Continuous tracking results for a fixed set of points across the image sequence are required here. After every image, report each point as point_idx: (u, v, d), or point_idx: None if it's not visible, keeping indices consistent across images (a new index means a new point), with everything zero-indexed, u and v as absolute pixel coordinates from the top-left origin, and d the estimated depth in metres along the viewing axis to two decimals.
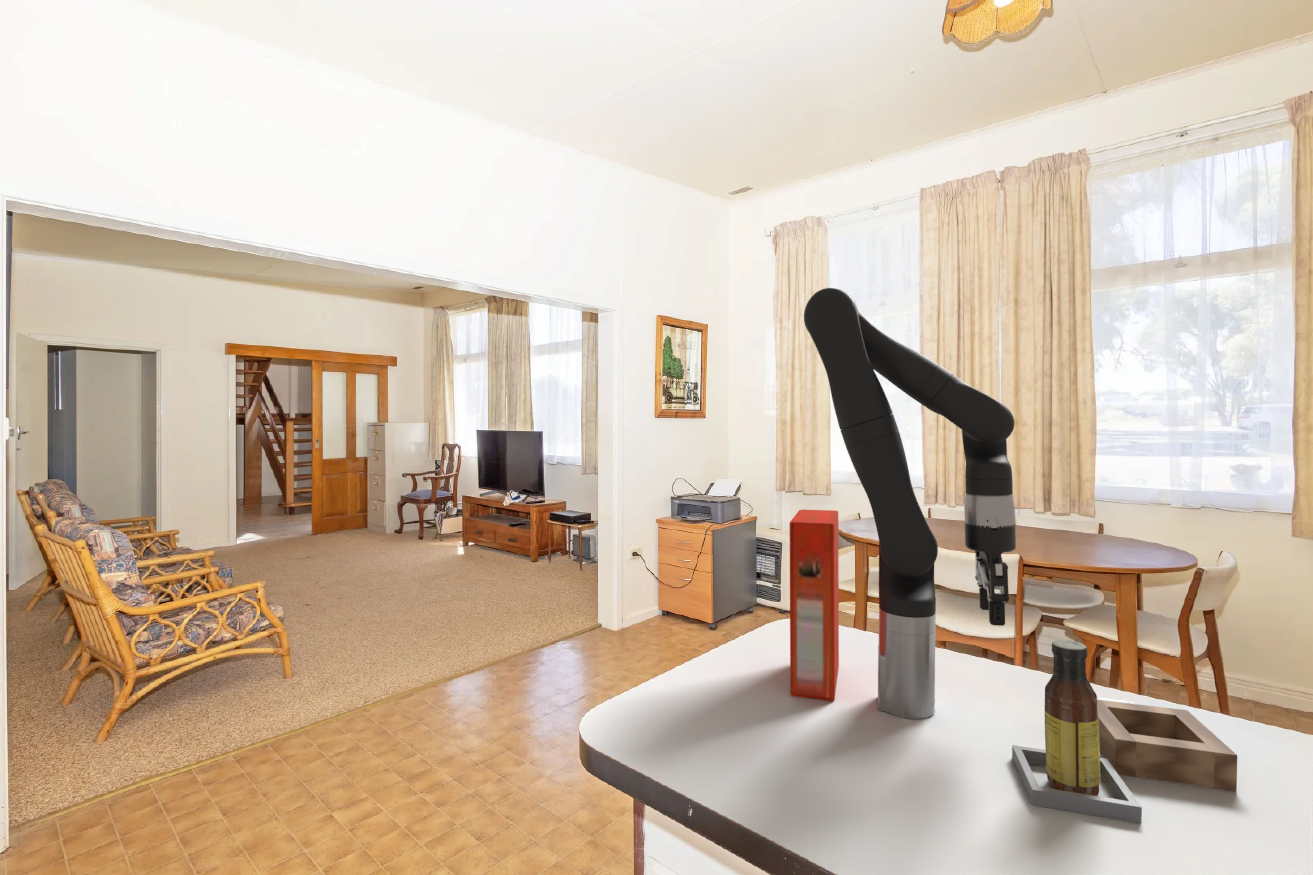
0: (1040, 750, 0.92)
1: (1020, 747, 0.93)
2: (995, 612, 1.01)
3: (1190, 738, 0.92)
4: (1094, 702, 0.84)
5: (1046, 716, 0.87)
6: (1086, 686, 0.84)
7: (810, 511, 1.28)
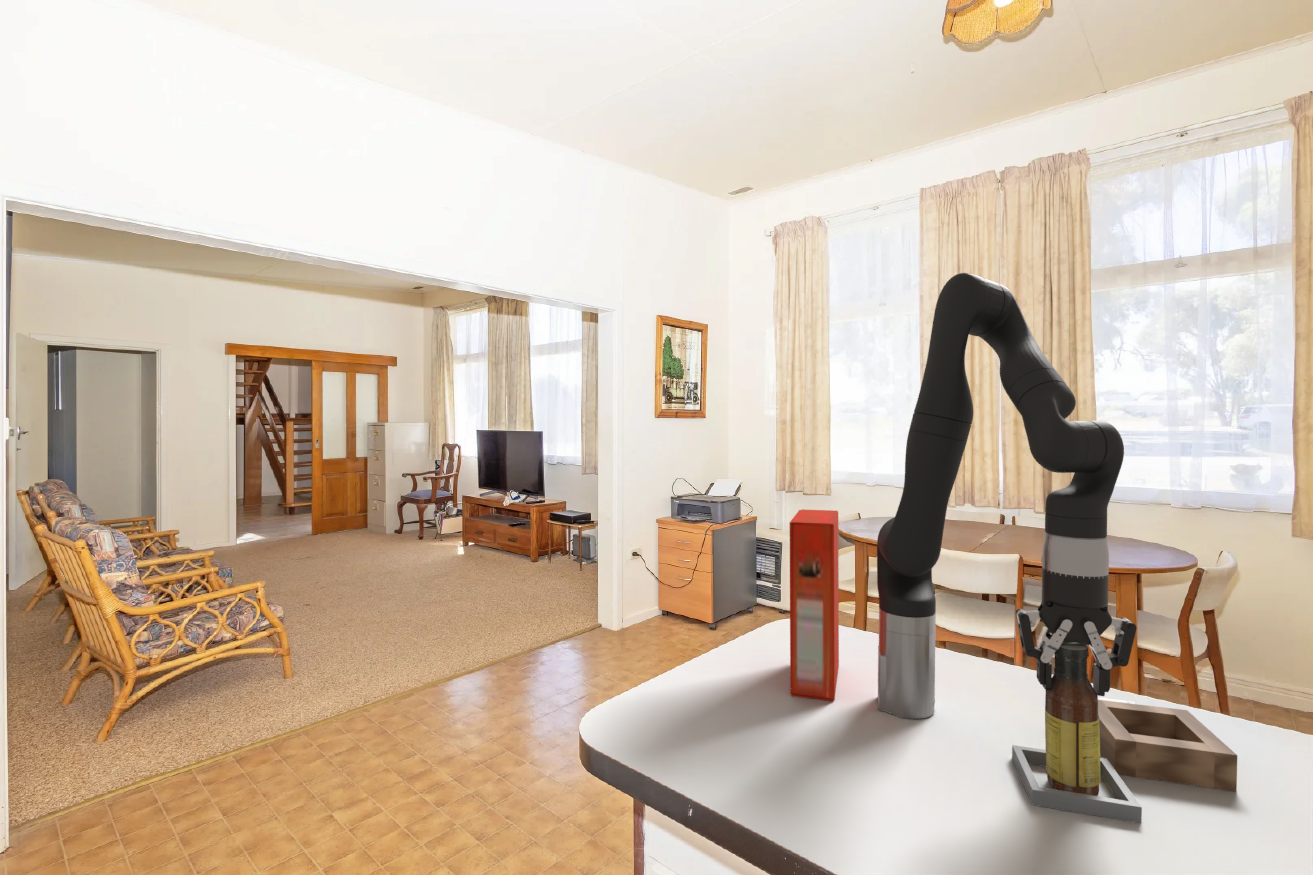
0: (1040, 750, 0.92)
1: (1020, 747, 0.93)
2: None
3: (1190, 738, 0.92)
4: (1095, 702, 0.84)
5: (1047, 716, 0.87)
6: (1087, 686, 0.84)
7: (810, 511, 1.28)
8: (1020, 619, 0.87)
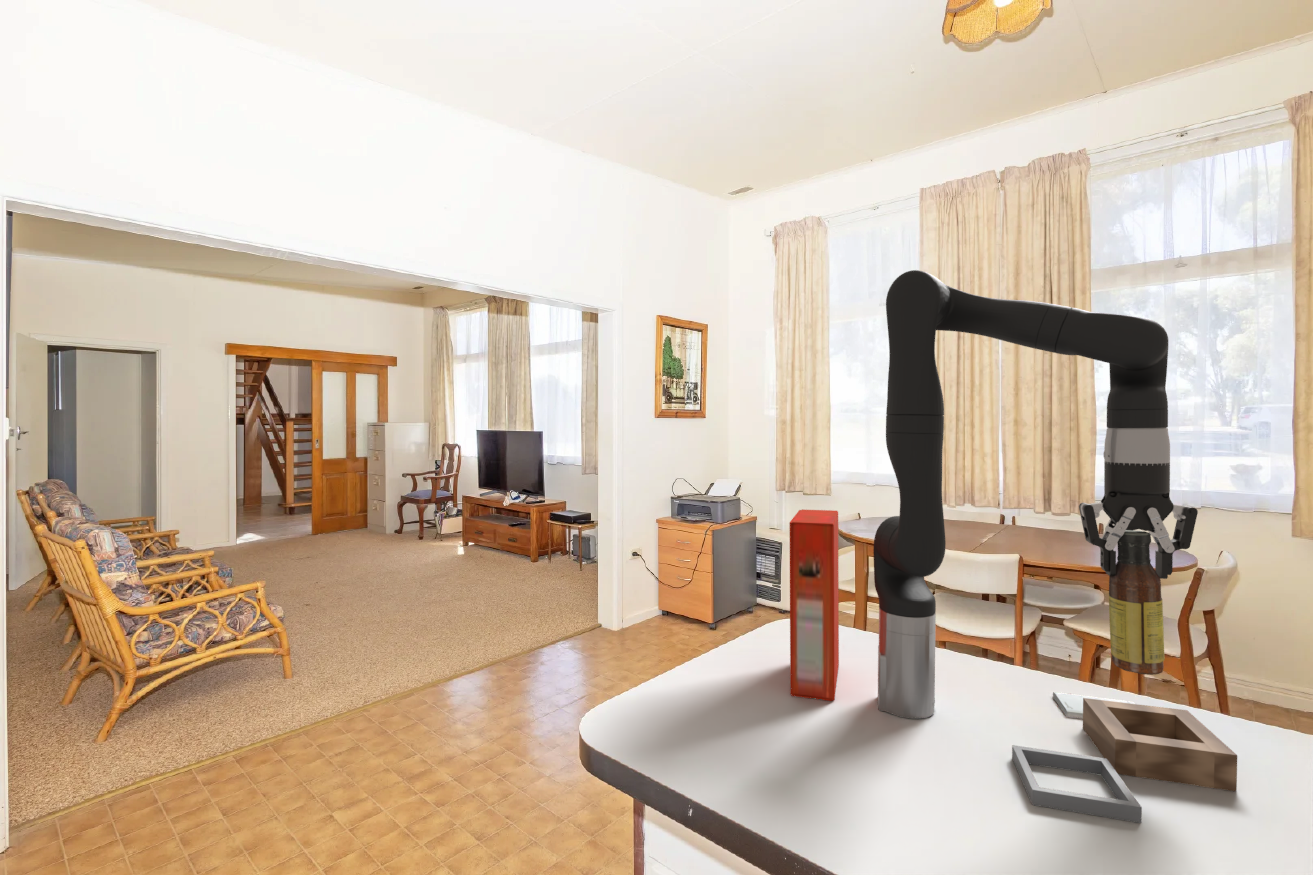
0: (1040, 750, 0.92)
1: (1020, 747, 0.93)
2: None
3: (1190, 738, 0.92)
4: (1158, 584, 0.89)
5: (1111, 601, 0.92)
6: (1150, 569, 0.89)
7: (810, 511, 1.28)
8: (1084, 510, 0.92)
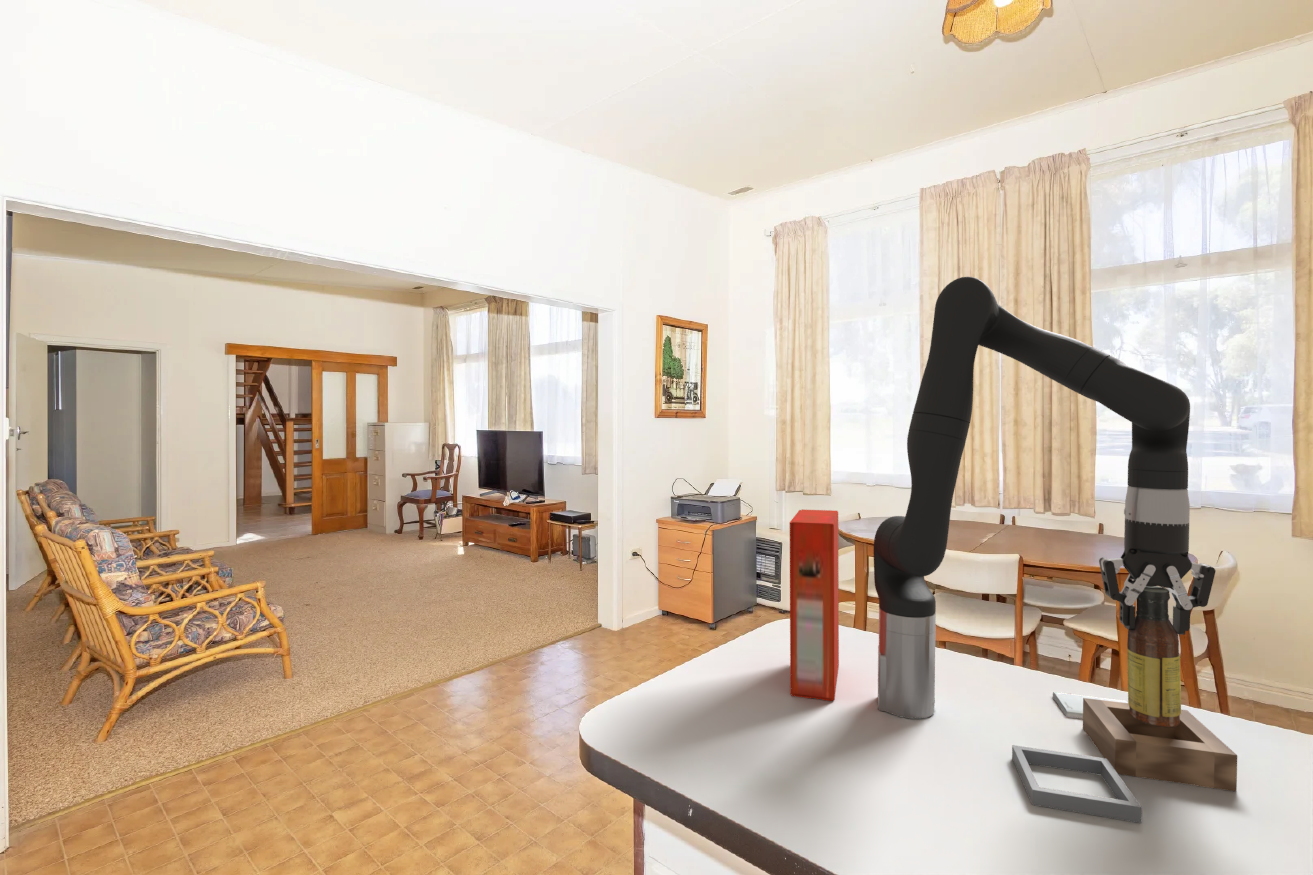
0: (1040, 750, 0.92)
1: (1020, 747, 0.93)
2: None
3: (1190, 738, 0.92)
4: (1176, 640, 0.92)
5: (1130, 654, 0.95)
6: (1169, 625, 0.92)
7: (810, 511, 1.28)
8: (1105, 566, 0.95)
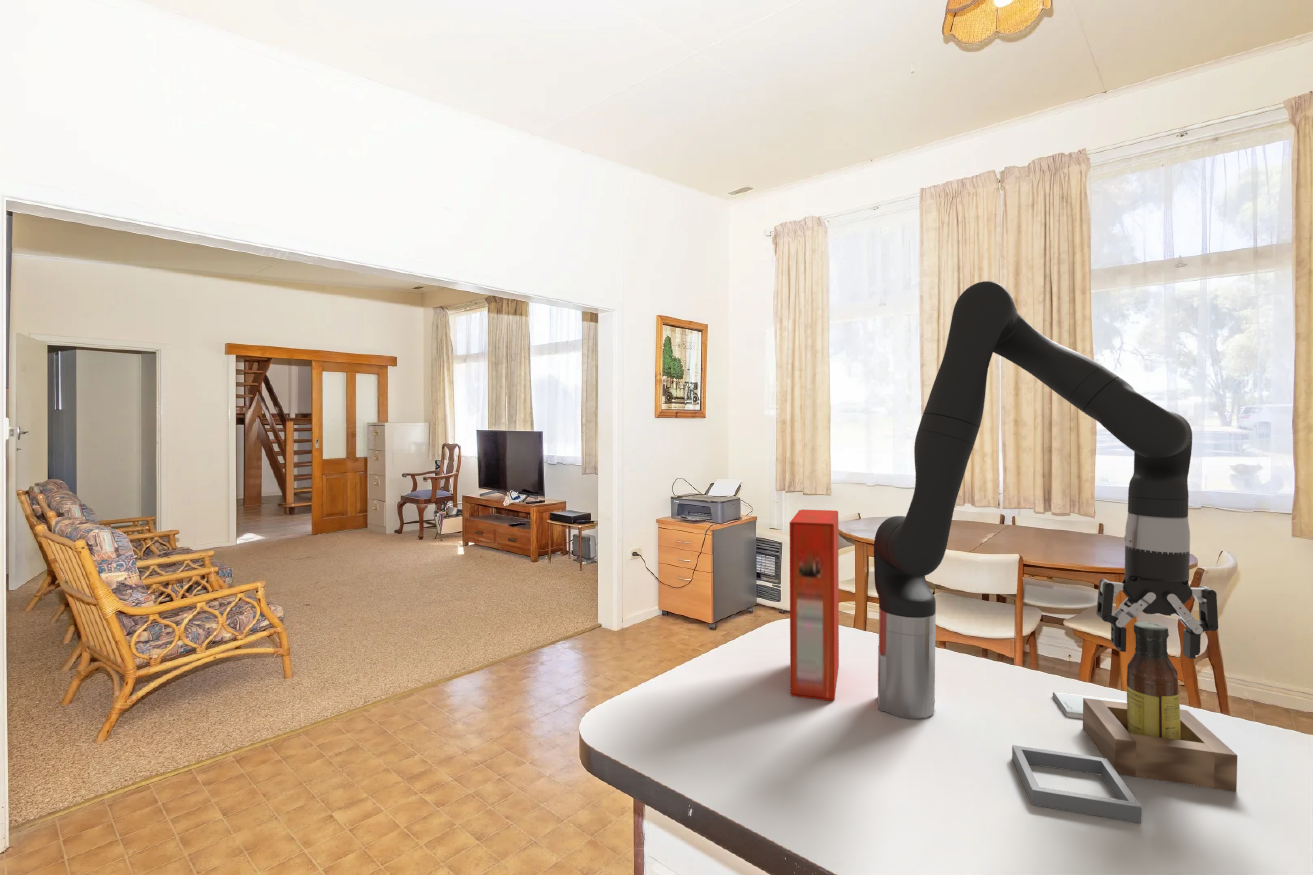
0: (1040, 750, 0.92)
1: (1020, 747, 0.93)
2: None
3: (1190, 738, 0.92)
4: (1176, 678, 0.92)
5: (1129, 691, 0.95)
6: (1168, 663, 0.92)
7: (810, 511, 1.28)
8: (1105, 587, 0.95)
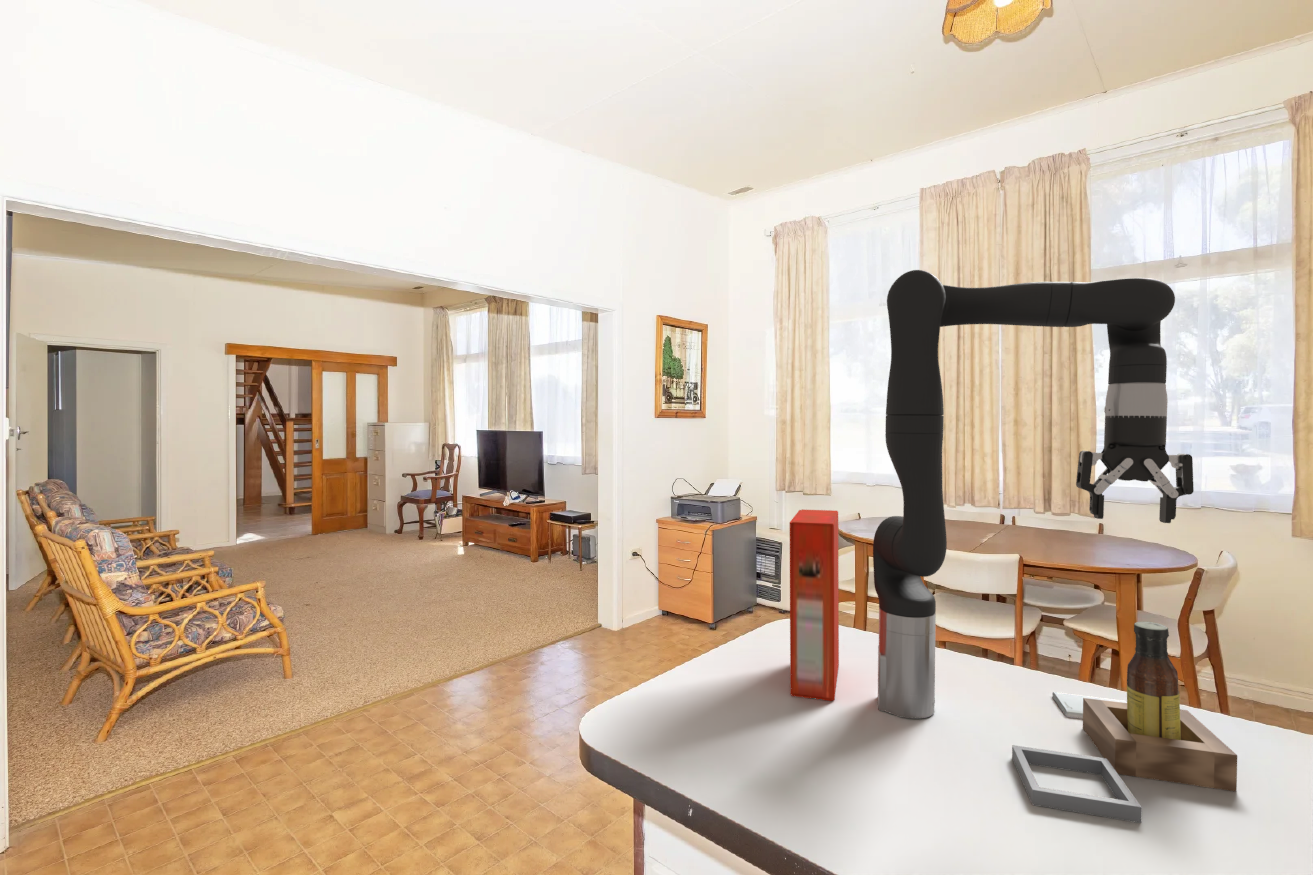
0: (1040, 750, 0.92)
1: (1020, 747, 0.93)
2: None
3: (1190, 738, 0.92)
4: (1176, 678, 0.92)
5: (1129, 691, 0.95)
6: (1168, 663, 0.92)
7: (810, 511, 1.28)
8: (1084, 455, 0.97)
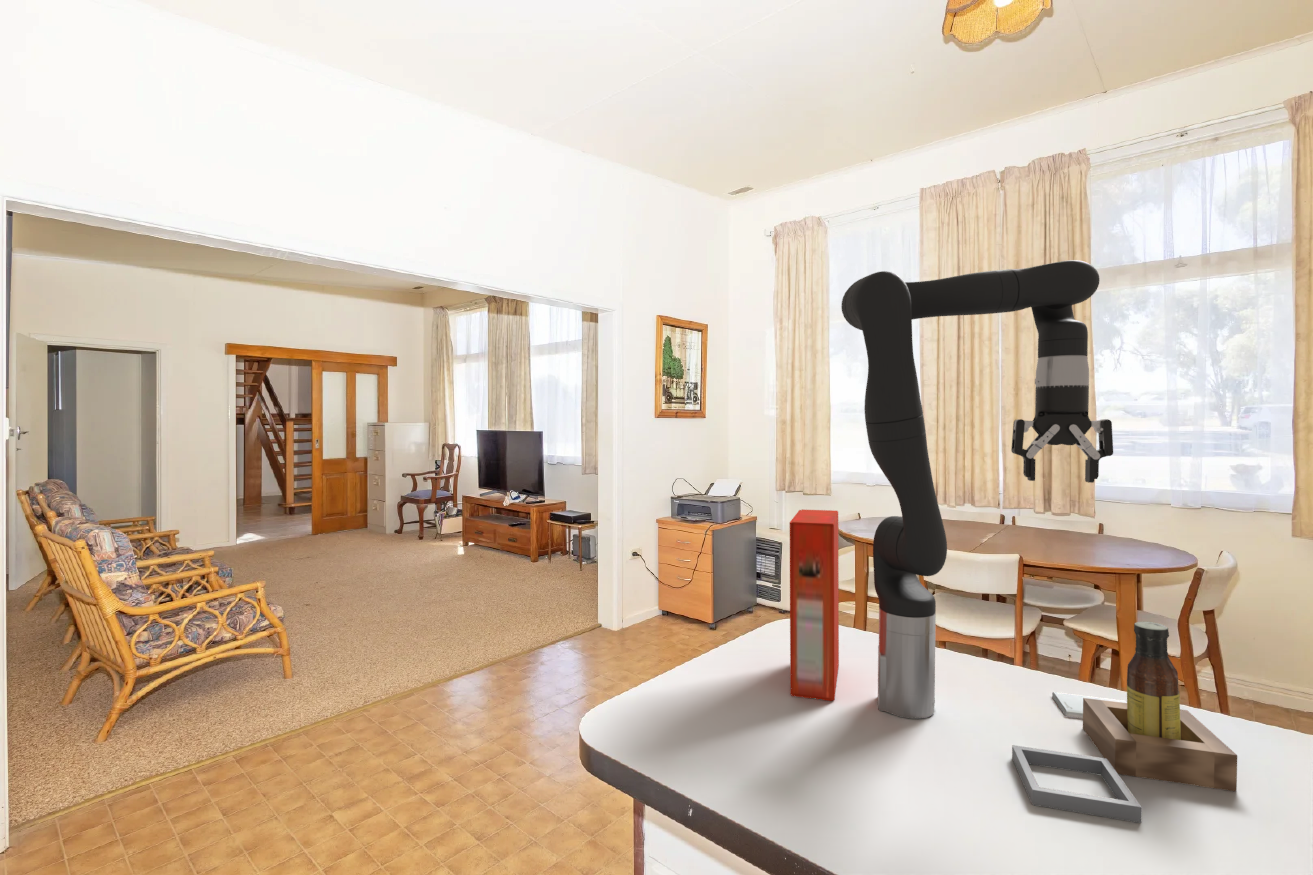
0: (1040, 750, 0.92)
1: (1020, 747, 0.93)
2: None
3: (1190, 738, 0.92)
4: (1176, 678, 0.92)
5: (1129, 691, 0.95)
6: (1168, 663, 0.92)
7: (810, 511, 1.28)
8: (1017, 423, 1.07)
